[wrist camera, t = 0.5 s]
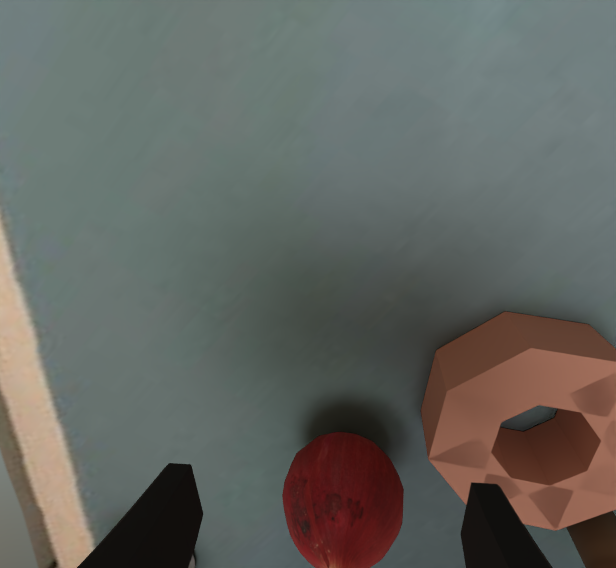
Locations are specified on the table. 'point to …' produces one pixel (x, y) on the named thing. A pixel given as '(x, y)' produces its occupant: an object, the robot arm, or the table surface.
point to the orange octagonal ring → (517, 399)
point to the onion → (343, 501)
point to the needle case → (596, 540)
